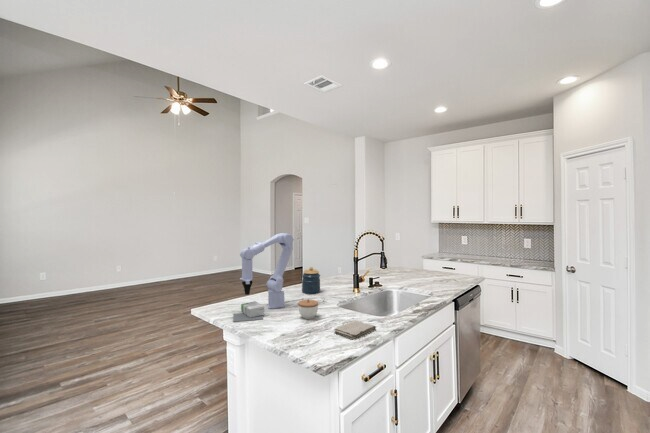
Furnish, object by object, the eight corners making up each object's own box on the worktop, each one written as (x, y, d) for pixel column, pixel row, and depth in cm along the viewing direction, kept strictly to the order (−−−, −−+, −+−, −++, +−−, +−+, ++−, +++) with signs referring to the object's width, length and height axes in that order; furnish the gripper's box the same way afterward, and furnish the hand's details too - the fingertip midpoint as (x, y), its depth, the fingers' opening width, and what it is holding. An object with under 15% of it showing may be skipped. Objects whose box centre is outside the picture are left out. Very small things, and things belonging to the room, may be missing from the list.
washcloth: (332, 334, 144) (332, 327, 144) (356, 324, 157) (356, 318, 157) (352, 341, 136) (352, 334, 136) (376, 330, 149) (376, 324, 149)
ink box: (241, 312, 173) (249, 318, 163) (241, 303, 173) (249, 309, 163) (255, 309, 178) (264, 314, 168) (255, 300, 178) (264, 305, 168)
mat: (261, 312, 174) (261, 311, 174) (263, 319, 162) (263, 318, 162) (233, 314, 170) (233, 313, 170) (233, 322, 158) (233, 321, 158)
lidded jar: (309, 312, 174) (309, 295, 174) (322, 317, 167) (322, 299, 166) (294, 316, 167) (294, 299, 167) (307, 321, 159) (307, 303, 159)
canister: (320, 294, 213) (320, 268, 213) (301, 294, 213) (301, 268, 213) (320, 289, 226) (320, 265, 226) (302, 289, 226) (302, 265, 226)
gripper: (239, 268, 180) (239, 291, 181) (240, 272, 167) (240, 298, 167) (252, 267, 182) (252, 290, 183) (253, 272, 168) (253, 297, 169)
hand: (247, 294), depth 175 cm, fingers closed
